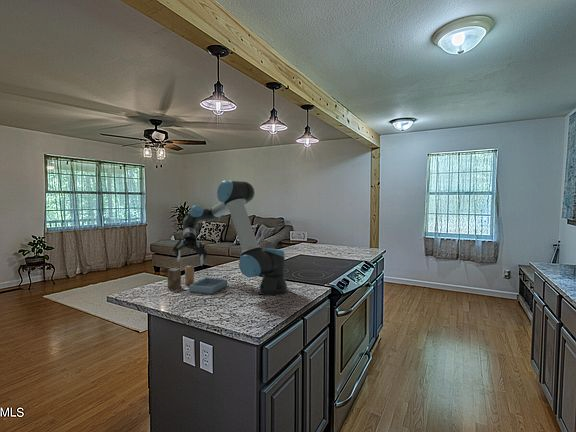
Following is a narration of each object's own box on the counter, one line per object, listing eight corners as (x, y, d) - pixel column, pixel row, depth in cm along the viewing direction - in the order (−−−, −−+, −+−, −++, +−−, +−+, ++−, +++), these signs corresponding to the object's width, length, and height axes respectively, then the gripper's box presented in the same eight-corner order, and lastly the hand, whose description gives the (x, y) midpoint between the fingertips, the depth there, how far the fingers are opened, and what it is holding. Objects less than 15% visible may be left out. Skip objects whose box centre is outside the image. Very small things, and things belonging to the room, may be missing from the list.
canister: (195, 282, 187) (195, 266, 187) (190, 284, 183) (190, 267, 182) (188, 282, 189) (188, 265, 188) (183, 284, 184) (183, 267, 183)
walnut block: (180, 286, 180) (180, 268, 179) (175, 288, 175) (175, 270, 174) (173, 285, 181) (173, 268, 180) (167, 287, 176) (167, 270, 176)
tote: (227, 285, 182) (227, 279, 182) (212, 294, 165) (212, 287, 165) (206, 283, 186) (206, 277, 186) (189, 291, 169) (189, 285, 169)
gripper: (206, 244, 204) (208, 269, 189) (167, 236, 192) (166, 262, 176) (211, 236, 201) (213, 261, 185) (171, 227, 188) (170, 253, 173)
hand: (190, 262), depth 181 cm, fingers open, 13 cm apart
